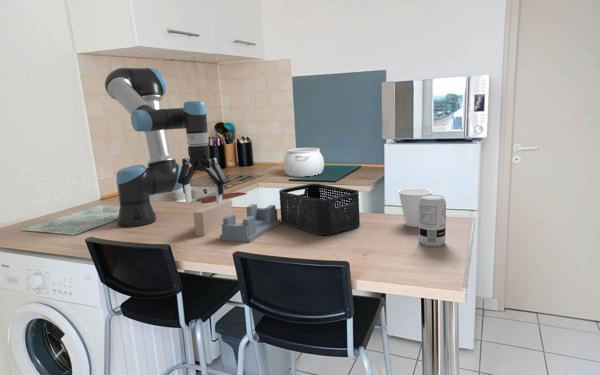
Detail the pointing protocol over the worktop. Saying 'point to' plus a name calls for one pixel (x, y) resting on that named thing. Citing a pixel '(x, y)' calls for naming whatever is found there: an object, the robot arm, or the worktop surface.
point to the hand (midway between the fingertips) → (204, 202)
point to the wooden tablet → (224, 196)
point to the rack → (250, 224)
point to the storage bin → (320, 209)
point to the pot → (303, 162)
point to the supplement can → (432, 220)
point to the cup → (412, 204)
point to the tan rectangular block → (211, 217)
